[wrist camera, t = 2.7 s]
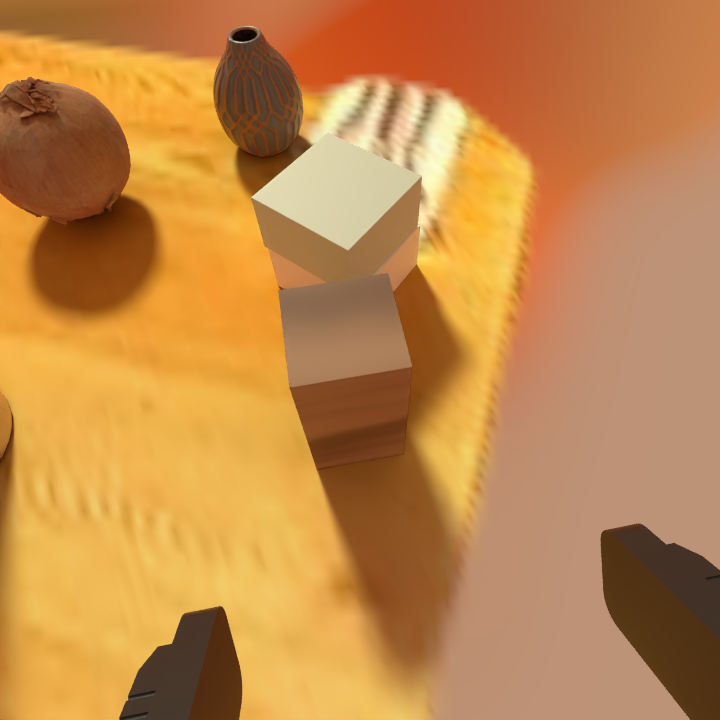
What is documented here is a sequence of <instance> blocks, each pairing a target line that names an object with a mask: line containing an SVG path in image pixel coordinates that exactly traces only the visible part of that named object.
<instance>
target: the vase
mask: <svg viewBox="0 0 720 720" xmlns="http://www.w3.org/2000/svg"><path fill="white" fill-rule="evenodd" d="M213 94H214V104H215V108H216V112H217V115H218V118H219V120H220V123H221V125H222V127H223V129H224V131H225V132H226V134H227V135H228V137H229V138H230V139H231V140H232V142H233V143H234V144H235V145H236V146H238V147H239V148H241V149H242V150H244V151H246V152H248V153H250V154H253V155H256V156H262V157H267V156H273V155H276V154H279V153H281V152H283V151H284V150H286V149H287V148H288V147H289V146H290V145H291V144H292V143H293V141H294V140H295V138H296V137H297V135H298V133H299V131H300V127H301V123H302V118H303V102H302V94H301V89H300V86H299V83H298V80H297V78H296V75H295V73H294V71H293V70H292V68H291V66H290V65H289V63H288V62H287V61H286V59H284V57H283V56H282V55H281V54H280V53H279V52H278V51H277V50H275V49H274V48H273V47H272V46H271V45H270V44H269V43H268V42H267V41H266V39H265V38H264V36H263V35H262V33H261V31H260V30H259V29H258V28H255V27H252V26H242V27H238V28H235V29H233V30H232V31H231V32H230V33H229V34H228V38H227V45H226V49H225V52H224V54H223V56H222V58H221V60H220V62H219V65H218V67H217V70H216V73H215V77H214V86H213Z"/></svg>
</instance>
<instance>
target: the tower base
mask: <svg viewBox="0 0 720 720" xmlns="http://www.w3.org/2000/svg"><path fill="white" fill-rule="evenodd" d="M419 233H420V225H419V224H418V227H417V228H416V229H415V230H414V231H413V232H412V233H411V234H410V235H409V236H408V237H407V239H406V240H405V241H404V242H403V243H402V244H401V245H400V246H399V247H398V248H397V249H396V250H395V251H394V252H393V254H392V255H391V256H390V257H389V258H388V259H387V260H386V261H385V262H384V263H383V264H382V265H381V266H380V267H379V269H378V270H377V271H376V272H375V273H374V274H373V275H379V274H385V273H388V275H389V278H390V282H391V286H392V290H393V292H394V291H395V289H396V288H397V287H398V286H399V285H400V284H401V282H402V281H403V280H404V279H405V278H406V276H407V275H408V274H409V273H410V272H411V270H412V269H413V268H414V267H415V266H416V265H417V255H418V244H419ZM269 253H270V257H271V261H272V264H273V268H274V272H275V275H276V279H277V283H278V286H280V287H282V288H283V289H290V288H296V287H303V286H309V285H315V284H322V283H327V282H325V281H323V280H322V279H320V278H318V277H316V276H315V275H313V274H311V273H310V272H308V271H306V270H304V269H303V268H301V267H299V266H298V265H296V264H294V263H292V262H291V261H289V260H287V259H286V258H284V257H282V256H280V255H279V254H277V253H275V252H274V251H272V250H270V249H269Z"/></svg>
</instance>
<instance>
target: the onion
mask: <svg viewBox="0 0 720 720" xmlns="http://www.w3.org/2000/svg"><path fill="white" fill-rule="evenodd" d="M130 166H131V164H130V154H129V149H128V145H127V141H126V138H125V136H124V133H123V131H122V129H121V127H120V125H119V123H118V122H117V120H116V119H115V117H114V116H113V115H112V113H111V112H110V111H109V110H108V109H107V108H106V107H105V106H104V105H103V104H102V103H101V102H100V101H99V100H98V99H97V98H96V97H94V96H93V95H91V94H89V93H88V92H85V91H83V90H81V89H79V88H76V87H73V86H69V85H66V84H61V83H54V82H49V81H43V80H40V79H36V80H35V79H33V78H32V77H29V78H28V79H27V80H21V82H20V81H18V80H17V81H15V82H12V83H11V84H8V85H7V86H6V87H5V88H4V89H3V91H2V92H1V93H0V193H1V194H2V195H3V196H4V197H5V198H7V199H8V200H9V201H10V202H11V203H13V204H15V205H16V206H18V207H20V208H21V209H24V210H25V211H27V212H29V213H31V214H33V215H35V216H36V217H38V216H39V217H41V216H45V217H50V218H51V219H52V220H54V221H56V222H58V223H61V224H65V225H68V224H67V220H68V221H74V219H78V220H80V219H82V218H86V217H91V216H92V215H95V214H99V213H104V211H103V210H104V209H106V210H107V209H108V211H111V210H112V208H111V206H112V204H113V203H114V202H115V201H116V200H117V199H118V197H119V196H120V194H121V192H122V190H123V188H124V187H125V185H126V182H127V180H128V178H129V173H130ZM112 211H113V210H112ZM99 215H100V214H99Z"/></svg>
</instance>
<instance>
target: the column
mask: <svg viewBox="0 0 720 720" xmlns="http://www.w3.org/2000/svg"><path fill="white" fill-rule="evenodd" d="M278 291H279V299H280V308H281V317H282V326H283V334H284V343H285V352H286V360H287V369H288V378H289V387H290V390H291V393H292V396H293V399H294V402H295V405H296V408H297V411H298V414H299V417H300V420H301V423H302V426H303V429H304V432H305V435H306V438H307V441H308V444H309V447H310V450H311V453H312V456H313V459H314V462H315V465H316V468H317V470H318V469H323V468H329V467H335V466H340V465H346V464H351V463H357V462H363V461H368V460H374V459H380V458H385V457H391V456H396V455H402V454H404V445H405V435H406V426H407V416H408V406H409V396H410V387H411V377H412V363H411V359H410V355H409V351H408V347H407V344H406V340H405V336H404V332H403V328H402V324H401V321H400V317H399V313H398V309H397V305H396V301H395V298H394V294H393V290H392V286H391V282H390V278H389V275H388V273H385V274H379V275H372V276H366V277H360V278H353V279H347V280H341V281H334V282H328V283H322V284H315V285H309V286H303V287H296V288H290V289H284V290H278Z"/></svg>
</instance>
